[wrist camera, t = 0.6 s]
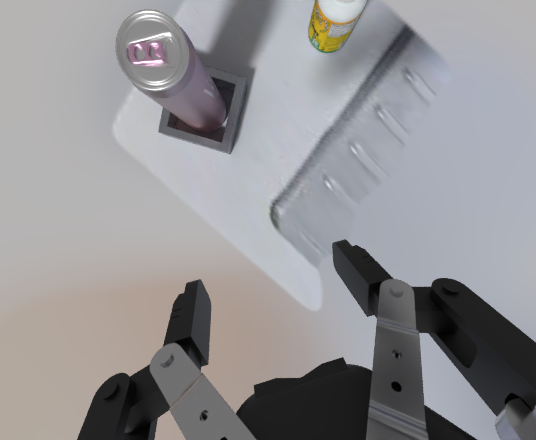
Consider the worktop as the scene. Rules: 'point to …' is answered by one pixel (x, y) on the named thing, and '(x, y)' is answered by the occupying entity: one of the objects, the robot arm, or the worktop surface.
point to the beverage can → (169, 69)
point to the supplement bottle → (333, 24)
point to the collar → (239, 89)
